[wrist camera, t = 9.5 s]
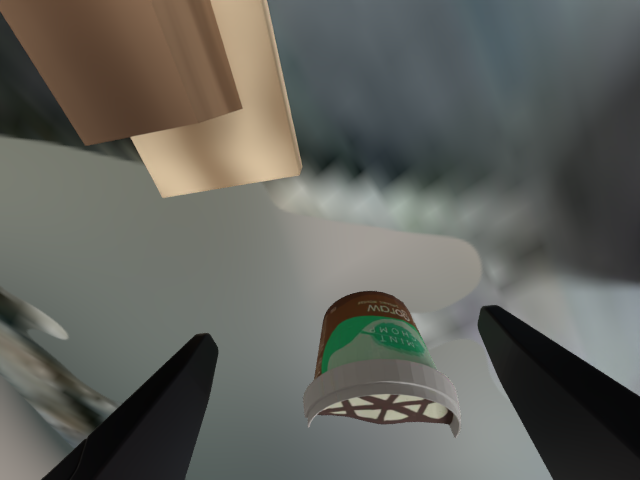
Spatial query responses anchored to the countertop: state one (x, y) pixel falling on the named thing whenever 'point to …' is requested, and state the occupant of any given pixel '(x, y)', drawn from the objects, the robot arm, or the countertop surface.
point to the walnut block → (127, 62)
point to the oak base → (232, 117)
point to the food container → (378, 367)
